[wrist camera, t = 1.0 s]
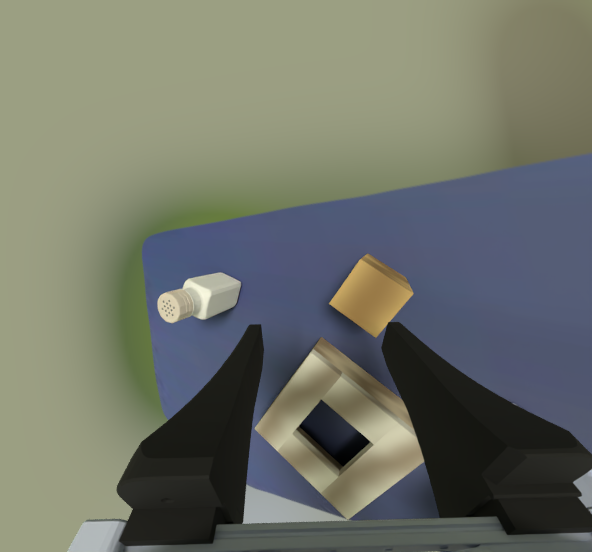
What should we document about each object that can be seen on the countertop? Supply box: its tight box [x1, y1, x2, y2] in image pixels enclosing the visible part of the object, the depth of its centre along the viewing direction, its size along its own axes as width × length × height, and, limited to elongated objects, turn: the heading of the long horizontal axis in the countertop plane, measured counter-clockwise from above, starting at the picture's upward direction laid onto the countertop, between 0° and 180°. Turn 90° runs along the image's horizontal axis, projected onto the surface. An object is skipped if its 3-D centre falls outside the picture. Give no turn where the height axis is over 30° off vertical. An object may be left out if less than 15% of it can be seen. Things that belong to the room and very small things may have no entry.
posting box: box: [255, 337, 424, 520], centre depth 26 cm, size 14×14×4 cm
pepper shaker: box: [158, 273, 241, 323], centre depth 27 cm, size 4×4×10 cm
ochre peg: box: [329, 254, 413, 338], centre depth 20 cm, size 4×4×7 cm
